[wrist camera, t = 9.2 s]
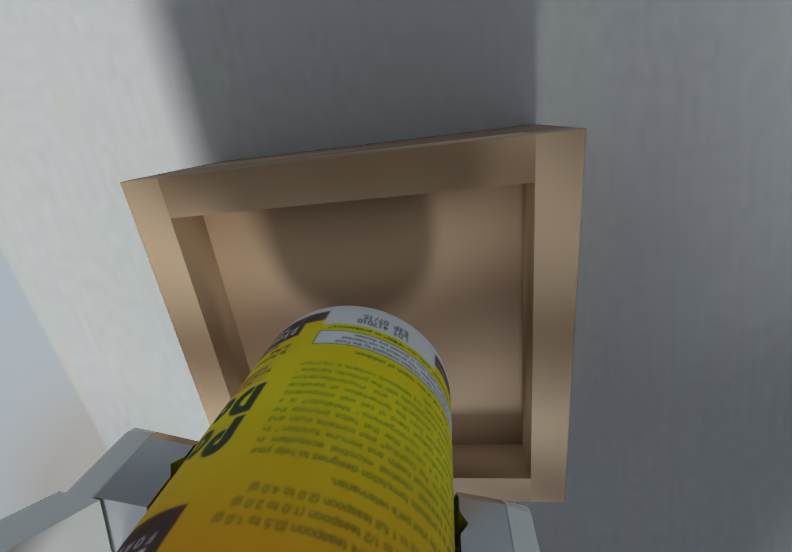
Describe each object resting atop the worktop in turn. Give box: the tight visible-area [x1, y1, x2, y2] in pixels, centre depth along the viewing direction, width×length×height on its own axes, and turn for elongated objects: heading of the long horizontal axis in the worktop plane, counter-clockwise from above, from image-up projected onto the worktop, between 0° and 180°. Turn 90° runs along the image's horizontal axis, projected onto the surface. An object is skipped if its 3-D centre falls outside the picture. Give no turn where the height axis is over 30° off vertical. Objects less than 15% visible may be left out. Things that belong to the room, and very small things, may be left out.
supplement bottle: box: [117, 306, 455, 552], centre depth 7 cm, size 6×6×10 cm
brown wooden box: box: [120, 125, 586, 503], centre depth 15 cm, size 13×13×6 cm
